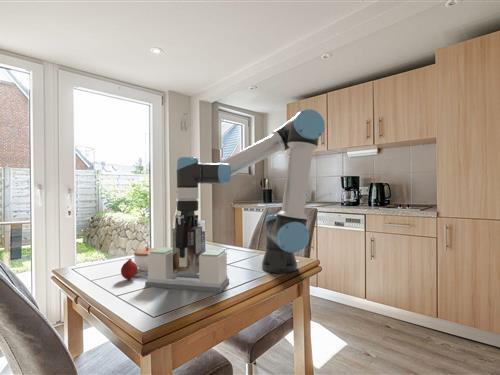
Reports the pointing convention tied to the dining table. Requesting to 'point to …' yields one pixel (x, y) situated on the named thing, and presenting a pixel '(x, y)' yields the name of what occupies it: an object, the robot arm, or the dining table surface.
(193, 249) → the coffee box
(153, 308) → the dining table surface
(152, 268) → the white slotted block
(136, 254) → the lidded jar
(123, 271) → the onion
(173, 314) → the dining table surface
